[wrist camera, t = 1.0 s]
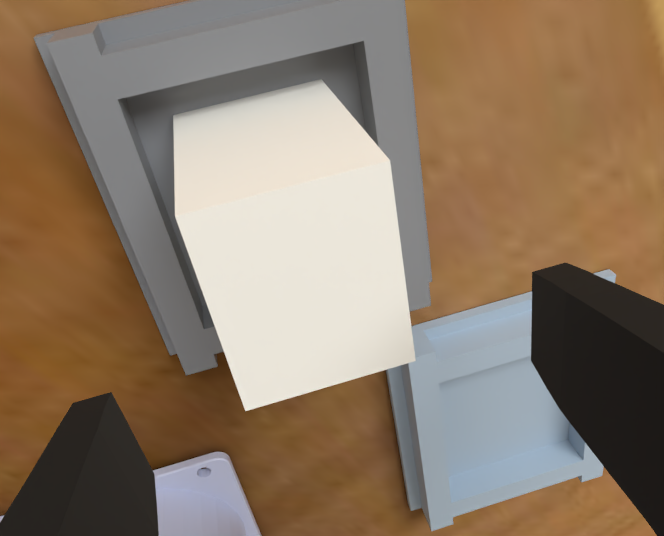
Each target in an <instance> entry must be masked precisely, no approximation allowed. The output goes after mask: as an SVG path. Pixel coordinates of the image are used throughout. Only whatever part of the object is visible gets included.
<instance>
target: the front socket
mask: <svg viewBox="0 0 664 536" xmlns="http://www.w3.org/2000/svg"><path fill="white" fill-rule="evenodd" d="M34 40H35V42H36V45H37V47H38V49H39V52H40V54H41V56H42V59H43V61H44V63H45V66H46V68H47V70H48V73H49V75H50V77H51V80H52V82H53V84H54V87H55V89H56V91H57V94H58V96H59V98H60V101H61V103H62V105H63V108H64V110H65V112H66V115H67V117H68V119H69V122H70V124H71V126H72V128H73V131H74V133H75V135H76V138H77V140H78V142H79V145H80V147H81V149H82V152H83V154H84V156H85V159H86V161H87V163H88V166H89V168H90V170H91V173H92V175H93V177H94V180H95V182H96V184H97V187H98V189H99V191H100V194H101V196H102V198H103V201H104V203H105V205H106V208H107V210H108V212H109V215H110V217H111V219H112V221H113V224H114V226H115V228H116V231H117V233H118V235H119V238H120V240H121V242H122V245H123V247H124V249H125V252H126V254H127V256H128V259H129V261H130V263H131V266H132V268H133V270H134V273H135V275H136V277H137V280H138V282H139V284H140V287H141V289H142V291H143V294H144V296H145V298H146V301H147V303H148V305H149V308H150V310H151V312H152V315H153V317H154V319H155V321H156V324H157V326H158V328H159V331H160V333H161V335H162V338H163V340H164V342H165V345H166V347H167V349H168V352H169V354H170V355H174V354H177V355H178V357H179V360H180V362H181V364H182V367H183V369H184V372H185V374H186V375H190V374H193V373H197V372H200V371H204V370H207V369H211V368H214V367H218V363H217V353H221V352H224V351H223V348H222V345H221V342H220V339H219V337H218V334H217V331H216V328H215V326H214V323H213V320H212V317H211V315H210V312H209V309H208V306H207V304H206V301H205V298H204V295H203V292H202V290H201V287H200V284H199V281H198V279H197V276H196V273H195V270H194V268H193V265H192V262H191V259H190V257H189V254H188V251H187V248H186V246H185V243H184V240H183V237H182V234H181V232H180V229H179V226H178V223H177V221H176V218H175V191H174V131H173V115H176V114H180V113H184V112H188V111H192V110H197V109H201V108H205V107H209V106H213V105H217V104H221V103H225V102H229V101H234V100H238V99H242V98H246V97H250V96H254V95H258V94H262V93H266V92H270V91H275V90H279V89H283V88H287V87H291V86H295V85H299V84H303V83H307V82H312V81H316V80H320V79H322V81H323V82H324V83H325V84H326V85H327V86H328V88H329V89H330V90H331V91H332V92H333V94H334V95H335V96H336V97H337V98H338V99H339V101H340V102H341V103H342V104H343V105H344V107H345V108H346V109H347V110H348V111H349V112H350V114H351V115H352V116H353V117H354V118H355V120H356V121H357V122H358V123H359V124H360V125H361V127H362V128H363V129H364V130H365V131H366V133H367V134H368V135H369V136H370V137H371V138H372V140H373V141H374V142H375V143H376V144H377V146H378V147H379V148H380V149H381V150H382V151H383V153H384V154H385V155H386V156H387V157H388V159H389V160H390V164H391V171H392V179H393V187H394V195H395V203H396V211H397V218H398V226H399V234H400V242H401V250H402V257H403V265H404V273H405V281H406V289H407V297H408V304H409V312H410V311H413V310H417V309H420V308H424V307H427V306H431V300H430V290H429V282H432V274H431V264H430V254H429V244H428V233H427V223H426V213H425V203H424V193H423V182H422V172H421V162H420V152H419V141H418V131H417V121H416V111H415V100H414V90H413V80H412V70H411V60H410V49H409V39H408V29H407V19H406V8H405V0H189V1H185V2H180V3H176V4H171V5H167V6H162V7H158V8H153V9H149V10H145V11H140V12H136V13H131V14H127V15H122V16H118V17H114V18H109V19H105V20H100V21H96V22H91V23H87V24H82V25H78V26H74V27H69V28H65V29H60V30H56V31H51V32H47V33H42V34H38V35H36V36H35V37H34Z"/></svg>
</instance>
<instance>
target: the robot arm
mask: <svg viewBox="0 0 664 536" xmlns="http://www.w3.org/2000/svg"><path fill="white" fill-rule="evenodd" d="M531 362H532V363H533V365H534V367H535V369H536V370H537V372H538V374H539V376H540V377H541V379H542V381H543V383H544V384H545V386H546V388H547V390H548V391H549V393H550V394H551V396H552V398H553V399H554V401H555V403H556V404H557V406H558V407H559V409H560V410H561V412H562V413H563V414H564V416H565V417H566V418H567V420H568V421H569V422H570V424H571V425H572V426H573V428H574V429H575V430H576V431H577V433H578V434H579V435H580V437H581V438H582V439H583V440H584V442H585V443H586V444H587V446H588V447H589V448H590V449H591V451H592V452H593V453H594V454H595V456H596V457H597V458H598V460H599V461H600V462H601V463H602V465H603V466H604V467H605V468H606V470H607V471H608V472H609V474H610V475H611V476H612V477H613V479H614V480H615V481H616V482H617V484H618V485H619V486H620V487H621V489H622V490H623V491H624V493H625V494H626V495H627V496H628V498H629V499H630V500H631V501H632V503H633V504H634V505H635V507H636V508H637V509H638V510H639V512H640V513H641V514H642V515H643V517H644V518H645V519H646V521H647V522H648V523H649V525H650V526H651V528H652V529H653V530H654V532H655V533H656V534H657V536H664V305H663V304H660V303H658V302H656V301H654V300H651V299H649V298H647V297H644V296H642V295H640V294H638V293H635V292H633V291H631V290H629V289H626V288H624V287H622V286H620V285H617V284H615V283H613V282H611V281H608V280H606V279H604V278H602V277H599V276H597V275H595V274H592V273H590V272H588V271H585V270H583V269H581V268H578V267H576V266H573V265H570V264H568V263H563V264H559V265H556V266H552V267H549V268H545V269H541V270H538V271H534V272H532V327H531ZM204 467H206V469H201V468H204ZM0 536H262V535H261V533H260V530H259V528H258V526H257V523H256V521H255V518H254V516H253V513H252V511H251V508H250V506H249V504H248V501H247V499H246V496H245V494H244V491H243V489H242V486H241V484H240V481H239V479H238V477H237V474H236V472H235V469H234V467H233V464H232V462H231V459H230V457H229V456H228V454H226V453H224V452H213V453H209V454H206V455H203V456H199V457H196V458H193V459H189V460H186V461H183V462H179V463H176V464H173V465H169V466H166V467H163V468H159V469H156V470H152V468H151V467H150V465H149V463H148V461H147V459H146V457H145V455H144V453H143V451H142V449H141V448H140V446H139V444H138V442H137V440H136V438H135V436H134V434H133V432H132V431H131V429H130V427H129V425H128V423H127V421H126V419H125V417H124V415H123V413H122V412H121V410H120V408H119V406H118V404H117V402H116V400H115V398H114V396H113V395H112V393H111V392H110V393H107V394H103V395H100V396H96V397H93V398H89V399H86V400H82V401H79V402H75V403H73V404H72V406H71V407H70V409H69V410H68V412H67V414H66V415H65V417H64V419H63V420H62V422H61V423H60V425H59V427H58V428H57V430H56V432H55V433H54V435H53V437H52V438H51V440H50V442H49V443H48V445H47V447H46V448H45V450H44V452H43V453H42V455H41V457H40V458H39V460H38V462H37V463H36V465H35V467H34V468H33V470H32V472H31V473H30V475H29V477H28V478H27V480H26V482H25V483H24V485H23V487H22V488H21V490H20V491H19V493H18V495H17V496H16V498H15V499H14V501H13V503H12V504H11V506H10V507H9V509H8V511H7V512H6V514H5V515H3V516H0Z"/></svg>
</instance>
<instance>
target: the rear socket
mask: <svg viewBox="0 0 664 536" xmlns="http://www.w3.org/2000/svg"><path fill="white" fill-rule="evenodd" d="M594 274H595V275H597V276H599V277H602V278H604V279H606V280H608V281H611V282H613V283H615V278H616V274H615V273H613V272H612V271H611V270H610V269H608V270H604V271H601V272H597V273H594ZM531 327H532V292H528V293H525V294H521V295H518V296H514V297H511V298H507V299H504V300H500V301H497V302H494V303H490V304H487V305H483V306H480V307H476V308H473V309H469V310H466V311H462V312H459V313H456V314H452V315H449V316H445V317H442V318H438V319H435V320H431V321H428V322H424V323H421V324H418V325H414V326H411V328H412V336H413V343H414V351H415V359H416V361H414V362H410V363H407V364H404V365H400V366H397V367H393V368H390V369H387V370H386V374H387V380H388V386H389V392H390V398H391V404H392V410H393V416H394V422H395V428H396V434H397V440H398V446H399V452H400V458H401V464H402V470H403V476H404V482H405V488H406V494H407V500H408V505H409V507H410V510H411V511H413V510H416V509H419V508H422V510H423V512H424V514H425V517H426V519H427V522H428V524H429V527H430V529H431V531H434V530H437V529H440V528H443V527H446V526H449V525H452V524H453V517H455V516H458V515H461V514H464V513H467V512H470V511H473V510H476V509H480V508H483V507H486V506H489V505H492V504H495V503H498V502H501V501H504V500H507V499H510V498H513V497H517V496H520V495H523V494H526V493H529V492H532V491H535V490H538V489H541V488H544V487H547V486H550V485H554V484H557V483H560V482H563V481H566V480H569V479H572V478H575V477H578V478H579V480H580V481H581V482H584V481H587V480H590V479H593V478H596V477H600V476H602V473H603V465H602V463H601V462H600V461H599V460H598V458H597V457H596V456H595V454H594V453H593V452H592V451H591V449H590V448H589V447H588V446H587V444H586V443H585V442H584V440H583V439H582V438H581V437H580V435H579V434H578V433H577V431H576V430H575V429H574V428H573V426H572V425H571V424H570V422H569V421H568V420H567V418H566V417H565V416H564V414H563V413H562V412H561V410H560V409H559V407H558V406H557V404H556V403H555V401H554V399H553V398H552V396H551V394H550V393H549V391H548V390H547V388H546V386H545V384H544V383H543V381H542V379H541V377H540V376H539V374H538V372H537V370H536V369H535V367H534V365H533V363H532V362H531Z"/></svg>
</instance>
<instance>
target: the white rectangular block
mask: <svg viewBox="0 0 664 536" xmlns="http://www.w3.org/2000/svg"><path fill="white" fill-rule="evenodd" d="M173 131H174V191H175V218H176V221H177V223H178V226H179V229H180V232H181V234H182V237H183V240H184V243H185V246H186V248H187V251H188V254H189V257H190V259H191V262H192V265H193V268H194V270H195V273H196V276H197V279H198V281H199V284H200V287H201V290H202V292H203V295H204V298H205V301H206V304H207V306H208V309H209V312H210V315H211V317H212V320H213V323H214V326H215V328H216V331H217V334H218V337H219V339H220V342H221V345H222V348H223V351H224V353H225V356H226V359H227V362H228V364H229V367H230V370H231V373H232V375H233V378H234V381H235V384H236V386H237V389H238V392H239V395H240V397H241V400H242V403H243V406H244V409H245V411H248V410H251V409H255V408H258V407H261V406H265V405H268V404H272V403H275V402H278V401H282V400H285V399H288V398H292V397H295V396H299V395H302V394H305V393H309V392H312V391H316V390H319V389H322V388H326V387H329V386H332V385H336V384H339V383H343V382H346V381H349V380H353V379H356V378H360V377H363V376H366V375H370V374H373V373H376V372H380V371H383V370H387V369H390V368H393V367H397V366H400V365H404V364H407V363H410V362H414V361H416V359H415V351H414V343H413V336H412V328H411V320H410V312H409V304H408V297H407V289H406V281H405V273H404V265H403V257H402V250H401V242H400V234H399V226H398V218H397V211H396V203H395V195H394V187H393V179H392V171H391V164H390V160H389V159H388V157H387V156H386V155H385V154H384V153H383V151H382V150H381V149H380V148H379V147H378V146H377V144H376V143H375V142H374V141H373V140H372V138H371V137H370V136H369V135H368V134H367V133H366V131H365V130H364V129H363V128H362V127H361V125H360V124H359V123H358V122H357V121H356V120H355V118H354V117H353V116H352V115H351V114H350V112H349V111H348V110H347V109H346V108H345V107H344V105H343V104H342V103H341V102H340V101H339V99H338V98H337V97H336V96H335V95H334V94H333V92H332V91H331V90H330V89H329V88H328V86H327V85H326V84H325V83H324V82H323V81H322V79H320V80H316V81H312V82H307V83H303V84H299V85H295V86H291V87H287V88H283V89H279V90H275V91H270V92H266V93H262V94H258V95H254V96H250V97H246V98H242V99H238V100H234V101H229V102H225V103H221V104H217V105H213V106H209V107H205V108H201V109H197V110H192V111H188V112H184V113H180V114H176V115H173Z"/></svg>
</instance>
